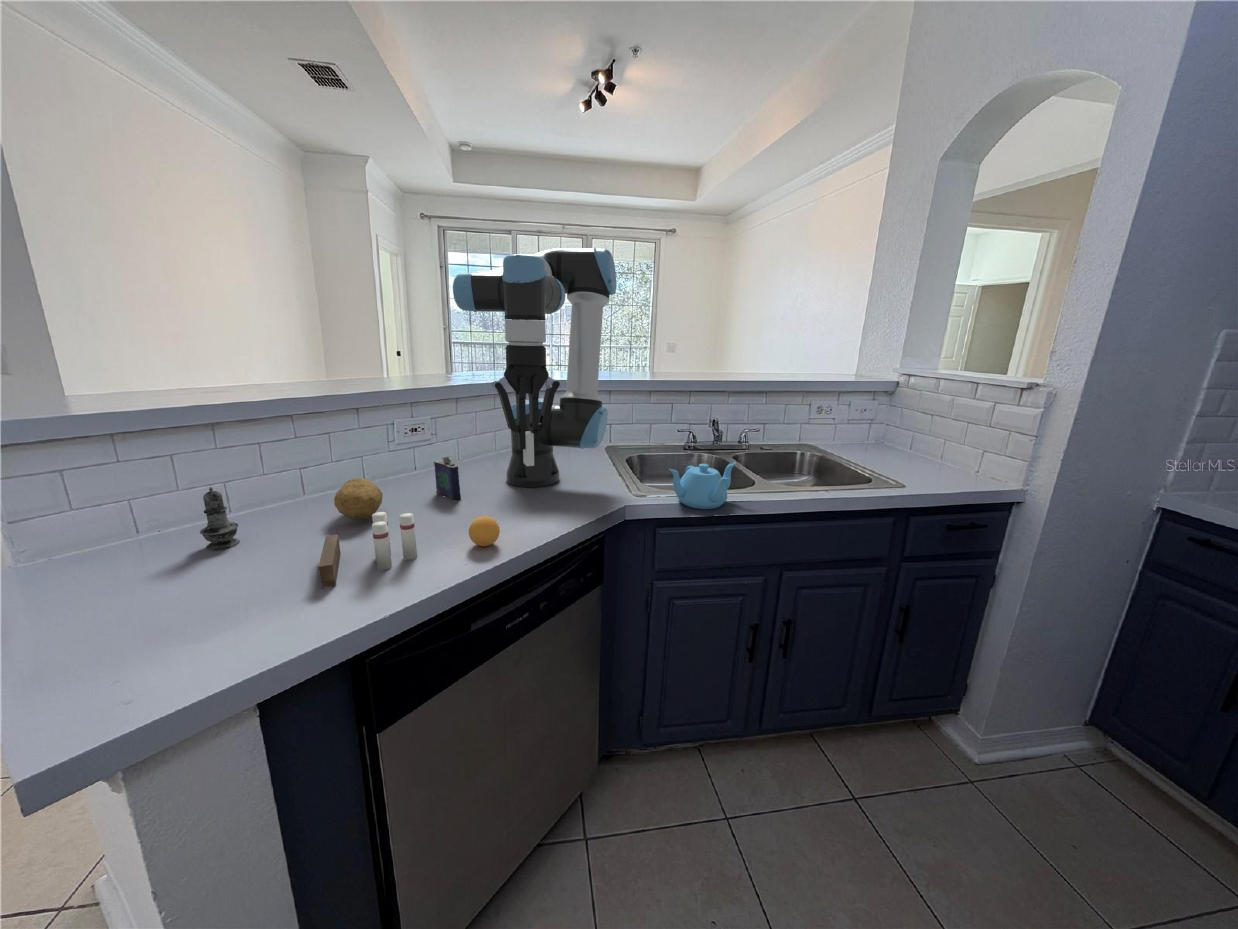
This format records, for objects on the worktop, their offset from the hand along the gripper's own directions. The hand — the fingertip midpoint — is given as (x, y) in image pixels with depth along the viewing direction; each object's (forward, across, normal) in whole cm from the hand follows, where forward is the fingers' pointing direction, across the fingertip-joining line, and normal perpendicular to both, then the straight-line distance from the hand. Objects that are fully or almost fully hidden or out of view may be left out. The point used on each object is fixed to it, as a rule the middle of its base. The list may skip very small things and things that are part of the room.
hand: (528, 464), depth 97 cm
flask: (+16, +12, -33) cm, 39 cm away
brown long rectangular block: (+16, +36, 0) cm, 40 cm away
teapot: (+16, -47, -4) cm, 50 cm away
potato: (+16, +32, -26) cm, 44 cm away
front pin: (+16, +23, 0) cm, 28 cm away
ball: (+13, +9, 0) cm, 16 cm away
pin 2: (+16, +28, +2) cm, 32 cm away
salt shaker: (+16, +56, -20) cm, 62 cm away
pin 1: (+16, +28, -3) cm, 32 cm away
